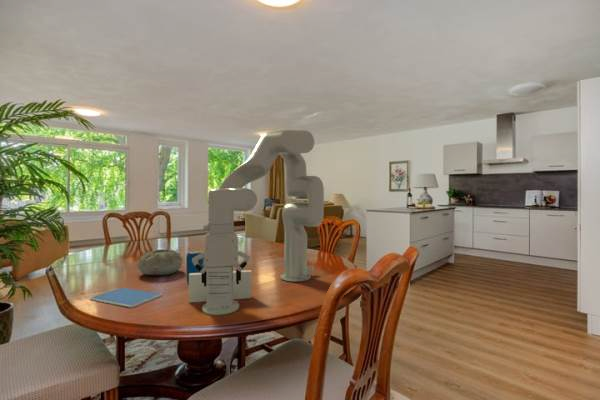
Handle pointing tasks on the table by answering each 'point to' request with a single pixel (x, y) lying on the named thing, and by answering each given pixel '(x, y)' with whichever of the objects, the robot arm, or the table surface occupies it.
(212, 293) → the supplement box
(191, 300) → the painted screen
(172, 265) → the grey rounded lump
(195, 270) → the beverage can
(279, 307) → the table surface
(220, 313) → the round plate
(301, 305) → the table surface
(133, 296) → the blue flat slab
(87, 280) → the table surface
